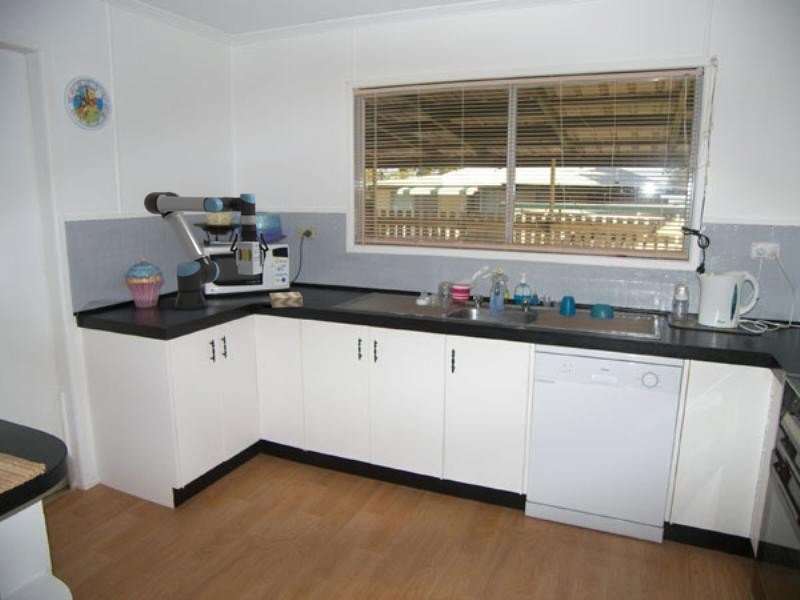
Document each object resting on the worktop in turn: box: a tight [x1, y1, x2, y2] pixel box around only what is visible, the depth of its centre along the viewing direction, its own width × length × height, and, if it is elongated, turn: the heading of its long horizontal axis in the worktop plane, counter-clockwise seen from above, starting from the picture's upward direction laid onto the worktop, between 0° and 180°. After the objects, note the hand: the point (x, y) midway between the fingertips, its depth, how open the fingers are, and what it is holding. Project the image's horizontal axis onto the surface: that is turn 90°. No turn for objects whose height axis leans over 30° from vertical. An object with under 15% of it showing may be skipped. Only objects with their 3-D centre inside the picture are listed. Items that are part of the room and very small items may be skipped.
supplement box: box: [236, 241, 263, 276], centre depth 297 cm, size 10×9×17 cm
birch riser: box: [269, 291, 304, 309], centre depth 307 cm, size 16×16×5 cm
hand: (250, 264), depth 298 cm, fingers closed on supplement box, 12 cm apart
